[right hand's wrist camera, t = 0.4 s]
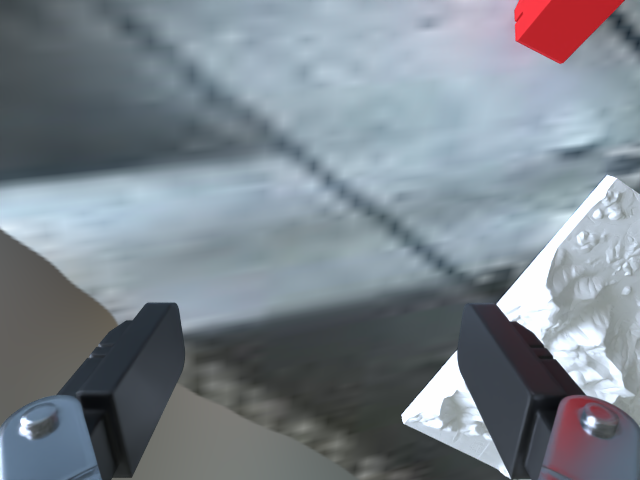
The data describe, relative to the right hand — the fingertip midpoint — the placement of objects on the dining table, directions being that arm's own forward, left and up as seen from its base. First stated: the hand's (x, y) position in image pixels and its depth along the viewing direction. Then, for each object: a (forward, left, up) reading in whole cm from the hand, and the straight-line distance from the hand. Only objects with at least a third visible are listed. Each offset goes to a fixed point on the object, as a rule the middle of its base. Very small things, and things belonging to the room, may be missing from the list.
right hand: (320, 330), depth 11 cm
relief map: (+23, +31, -30) cm, 49 cm away
